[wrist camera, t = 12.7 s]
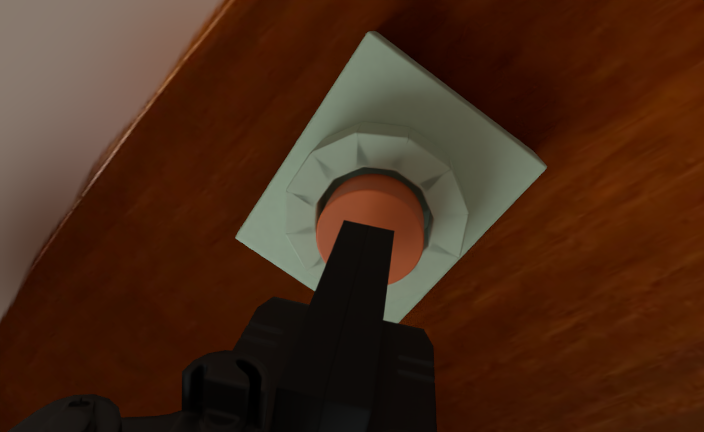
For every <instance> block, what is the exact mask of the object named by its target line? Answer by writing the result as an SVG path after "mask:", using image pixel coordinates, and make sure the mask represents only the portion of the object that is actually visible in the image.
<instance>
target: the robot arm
mask: <svg viewBox="0 0 704 432" xmlns="http://www.w3.org/2000/svg"><path fill="white" fill-rule="evenodd" d="M394 232H395V231H393V230H389V229H384V228H379V227H375V226H370V225H365V224H361V223H356V222H351V221H347V220H344V221H343V223H342V226H341V228H340V231H339V233H338V236H337V238H336V241H335V243H334V246H333V248H332V251H331V253H330V256H329V258H328V260H327V263H326V265H325V268H324V270H323V273H322V275H321V278H320V280H319V283H318V285H317V288H316V290H315V293H314V295H313V298H312V300H311V303H310V305H308V304H304V303H300V302H295V301H291V300H286V299H282V298H278V297H272V298H271V299H269V300H268V301H267V302H265V303H264V304H262V305H261V306H259V307H258V308H257V309H256V311H255V313H254V315H253V316H252V318H251V320H250V321H249V324H248V326H246V328H245V330H244V332H243V333H242V335H241V338H239V340H238V342H237V343H236V345H235V347H234V349H233V350H232V351H227V350H224V351H219V352H213V353H208V354H206V355H204V356H202V357H200V358H198V359H196V360H194V361H193V362H192V363H191V364H190V365H188V366H187V367H186V368H185V369H184V370H183V371H182V410H181V411H178V412H175V413H172V414H167V415H160V416H146V417H125V418H121V416H120V412H119V408H118V407H117V406H116V405H115V404H114V403H113V402H112V401H111V400H110V399H108V398H105V397H101V396H98V395H94V394H88V395H73V396H70V397H66V398H63V399H59V400H56V401H54V402H52V403H50V404H48V405H46V406H45V407H43V408H41V409H39V410H37V411H36V412H34V413H33V414H32V415H30V416H29V417H27V418H26V419H25V420H23V421H22V422H20V423H19V424H18V425H16V426H15V427H13V428H12V429H11V430H9V431H8V432H437V423H436V400H435V383H434V379H435V376H434V367H433V366H434V352H433V345H432V343H431V341H430V340H429V338H428V336H427V334H426V333H425V331H424V329H420V328H416V327H412V326H407V325H403V324H398V323H394V322H390V321H385V320H383V319H384V311H385V303H386V295H387V287H388V279H389V272H390V264H391V256H392V248H393V240H394Z"/></svg>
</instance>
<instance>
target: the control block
mask: <svg viewBox="0 0 704 432" xmlns="http://www.w3.org/2000/svg"><path fill="white" fill-rule="evenodd" d="M546 168H547V166H546V164H545V163H544V162H543V161H542V160H541V159H540V158H539V157H538V156H537V155H536V154H535V153H534V151H532V150H531V149H530V148H528V147H527V146H526V145H525V144H523V143H522V142H521V141H519V140H518V139H517V138H515V137H514V136H513V135H511V134H510V133H509V132H507V131H506V130H505V129H504V128H502V127H501V126H500V125H498V124H497V123H496V122H494V121H493V120H492V119H490V118H489V117H488V116H487V115H485V114H484V113H483V112H481V111H480V110H479V109H477V108H476V107H475V106H473V105H472V104H471V103H469V102H468V101H467V100H466V99H464V98H463V97H462V96H460V95H459V94H458V93H456V92H455V91H454V90H452V89H451V88H450V87H449V86H447V85H446V84H445V83H443V82H442V81H441V80H439V79H438V78H437V77H435V76H434V75H433V74H432V73H430V72H429V71H428V70H426V69H425V68H424V67H422V66H421V65H420V64H418V63H417V62H416V61H414V60H413V59H412V58H411V57H409V56H408V55H407V54H405V53H404V52H403V51H401V50H400V49H399V48H397V47H396V46H395V45H394V44H392V43H391V42H390V41H388V40H387V39H386V38H384V37H383V36H382V35H380V34H379V33H378V32H376V31H369V32H367V34H366V35H365V37H364V38H363V40H362V41H361V43H360V45H359V46H358V48H357V49H356V51H355V52H354V54H353V55H352V57H351V58H350V60H349V62H348V63H347V65H346V66H345V68H344V69H343V71H342V72H341V74H340V75H339V77H338V79H337V80H336V82H335V83H334V85H333V86H332V88H331V89H330V91H329V92H328V94H327V96H326V97H325V99H324V100H323V102H322V103H321V105H320V106H319V108H318V109H317V111H316V113H315V114H314V116H313V117H312V119H311V120H310V122H309V123H308V125H307V126H306V128H305V130H304V131H303V133H302V134H301V136H300V137H299V139H298V140H297V142H296V143H295V145H294V147H293V148H292V150H291V151H290V153H289V154H288V156H287V157H286V159H285V161H284V162H283V164H282V165H281V167H280V168H279V170H278V171H277V173H276V174H275V176H274V178H273V179H272V181H271V182H270V184H269V185H268V187H267V188H266V190H265V191H264V193H263V195H262V196H261V198H260V199H259V201H258V202H257V204H256V205H255V207H254V208H253V210H252V212H251V213H250V215H249V216H248V218H247V219H246V221H245V222H244V224H243V225H242V227H241V229H240V230H239V232H238V233H237V235H236V239H237V240H239V241H240V242H242V243H243V244H245V245H246V246H248V247H249V248H251V249H252V250H254V251H255V252H257V253H258V254H260V255H261V256H263V257H264V258H266V259H267V260H269V261H270V262H272V263H273V264H275V265H276V266H278V267H279V268H281V269H282V270H284V271H285V272H287V273H288V274H290V275H291V276H293V277H294V278H296V279H297V280H299V281H300V282H302V283H303V284H305V285H306V286H308V287H309V288H311V289H312V290H314V291H315V290H316V288H317V285H318V283H319V280H320V278H321V275H322V273H323V270H324V268H325V265H326V264H325V262H324V261H323V259H322V257H321V255H320V253H319V250H318V247H317V242H316V227H317V223H318V220H319V217H320V215H321V213H322V211H323V210H324V208H325V206H326V204H327V202H328V200H329V198H330V197H331V195H332V194H333V192H334V191H335V190H336V189H337V187H339V186H340V185H341V184H342V183H343V182H345V181H346V180H348V179H350V178H352V177H355V176H358V175H362V174H371V173H373V174H383V175H387V176H390V177H393V178H395V179H397V180H399V181H401V182H402V183H404V184H405V185H406V186H408V187H409V188H410V189H411V190H412V191H413V193H414V194H415V195H416V197H417V198H418V200H419V202H420V204H421V207H422V210H423V215H424V248H423V252H422V255H421V258H420V260H419V262H418V263H417V265H416V266H415V268H414V269H413V270H412V271H411V272H410V273H409V274H408V275H407V276H405V277H404V278H403V279H401V280H399V281H397V282H395V283H392V284H390V285H388V287H387V295H386V303H385V311H384V319H383V320H385V321H390V322H394V323H399V322H400V321H401V319H402V318H403V317H404V316H405V315H406V314H407V313H408V312H409V311H410V310H411V309H412V308H413V307H414V306H415V305H416V304H417V303H418V302H419V301H420V300H421V299H422V298H423V297H424V296H425V294H426V293H427V292H428V291H429V290H430V289H431V288H432V287H433V286H434V285H435V284H436V283H437V282H438V281H439V280H440V279H441V278H442V277H443V276H444V275H445V274H446V273H447V272H448V270H449V269H450V268H451V267H452V266H453V265H454V264H455V263H456V262H457V261H458V260H459V259H460V258H461V257H462V256H463V255H464V254H465V253H466V252H467V251H468V250H469V249H470V248H471V247H472V245H473V244H474V243H475V242H476V241H477V240H478V239H479V238H480V237H481V236H482V235H483V234H484V233H485V232H486V231H487V230H488V229H489V228H490V227H491V226H492V225H493V224H494V223H495V221H496V220H497V219H498V218H499V217H500V216H501V215H502V214H503V213H504V212H505V211H506V210H507V209H508V208H509V207H510V206H511V205H512V204H513V203H514V202H515V201H516V200H517V199H518V198H519V196H520V195H521V194H522V193H523V192H524V191H525V190H526V189H527V188H528V187H529V186H530V185H531V184H532V183H533V182H534V181H535V180H536V179H537V178H538V177H539V176H540V175H541V174H542V172H543V171H544V170H545V169H546Z"/></svg>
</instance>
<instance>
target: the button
mask: <svg viewBox="0 0 704 432" xmlns="http://www.w3.org/2000/svg"><path fill="white" fill-rule="evenodd" d="M344 220H347V221H351V222H356V223H361V224H365V225H370V226H375V227H379V228H384V229H389V230H393V231H395V232H394V240H393V248H392V256H391V264H390V272H389V279H388V285H390V284H392V283H395V282H397V281H399V280H401V279H403V278H404V277H405V276H407V275H408V274H409V273H410V272H411V271H412V270H413V269H414V268H415V266H416V265H417V263H418V262H419V260H420V258H421V255H422V252H423V248H424V215H423V210H422V207H421V204H420V202H419V200H418V198H417V197H416V195H415V194H414V193H413V191H412V190H411V189H410V188H409V187H408V186H406V185H405V184H404V183H402V182H401V181H399V180H397V179H395V178H393V177H390V176H387V175H383V174H373V173H371V174H362V175H358V176H355V177H352V178H350V179H348V180H346V181H345V182H343V183H342V184H341V185H340V186H339V187H337V189H336V190H335V191H334V192H333V194H332V195H331V197H330V198H329V200H328V202H327V204H326V206H325V208H324V210H323V211H322V213H321V215H320V217H319V220H318V223H317V227H316V242H317V247H318V250H319V253H320V255H321V257H322V259H323V261H324V262H325V264H326V263H327V260H328V258H329V256H330V253H331V251H332V248H333V246H334V243H335V241H336V238H337V236H338V233H339V231H340V228H341V226H342V223H343V221H344Z"/></svg>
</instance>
